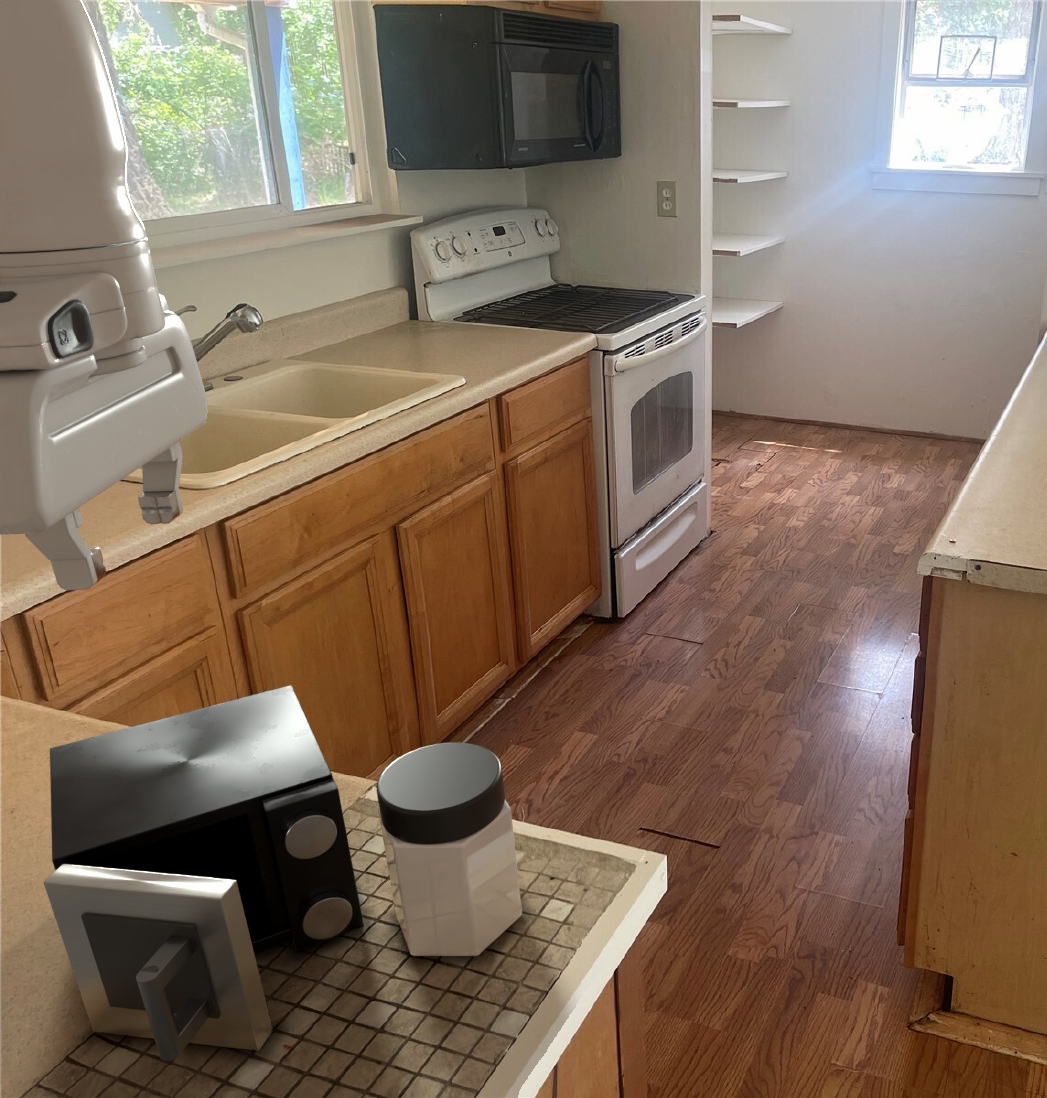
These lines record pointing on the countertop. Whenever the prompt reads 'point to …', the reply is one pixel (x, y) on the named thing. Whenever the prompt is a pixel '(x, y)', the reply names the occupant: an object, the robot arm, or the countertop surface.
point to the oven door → (161, 956)
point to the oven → (216, 812)
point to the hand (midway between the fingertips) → (127, 550)
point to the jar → (449, 848)
